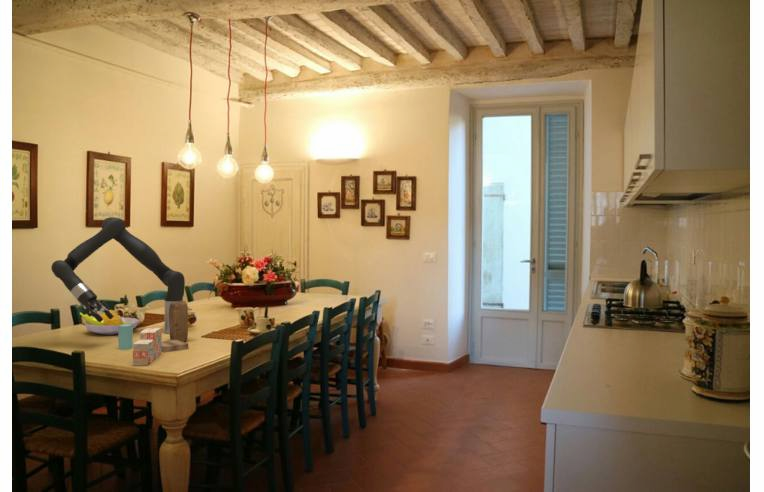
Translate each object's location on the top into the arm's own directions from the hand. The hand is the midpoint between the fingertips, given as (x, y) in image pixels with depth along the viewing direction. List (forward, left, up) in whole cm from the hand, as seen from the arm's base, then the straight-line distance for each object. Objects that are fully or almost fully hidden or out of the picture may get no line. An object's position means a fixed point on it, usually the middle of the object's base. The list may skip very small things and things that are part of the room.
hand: (106, 319), depth 268 cm
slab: (-22, +20, -14) cm, 33 cm away
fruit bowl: (-14, -37, -14) cm, 42 cm away
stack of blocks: (-5, +34, -14) cm, 38 cm away
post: (-6, +7, -13) cm, 16 cm away
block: (-32, +6, -14) cm, 35 cm away
